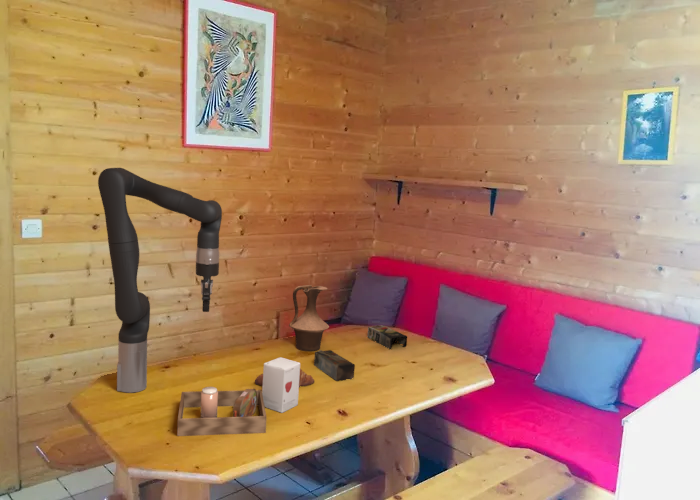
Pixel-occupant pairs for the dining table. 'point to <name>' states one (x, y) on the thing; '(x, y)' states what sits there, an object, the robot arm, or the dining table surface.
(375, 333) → the dark slotted box
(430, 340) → the dining table surface
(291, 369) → the supplement box
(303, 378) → the pastry
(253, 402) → the tin
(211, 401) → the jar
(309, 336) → the pitcher
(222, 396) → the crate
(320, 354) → the beverage carton
